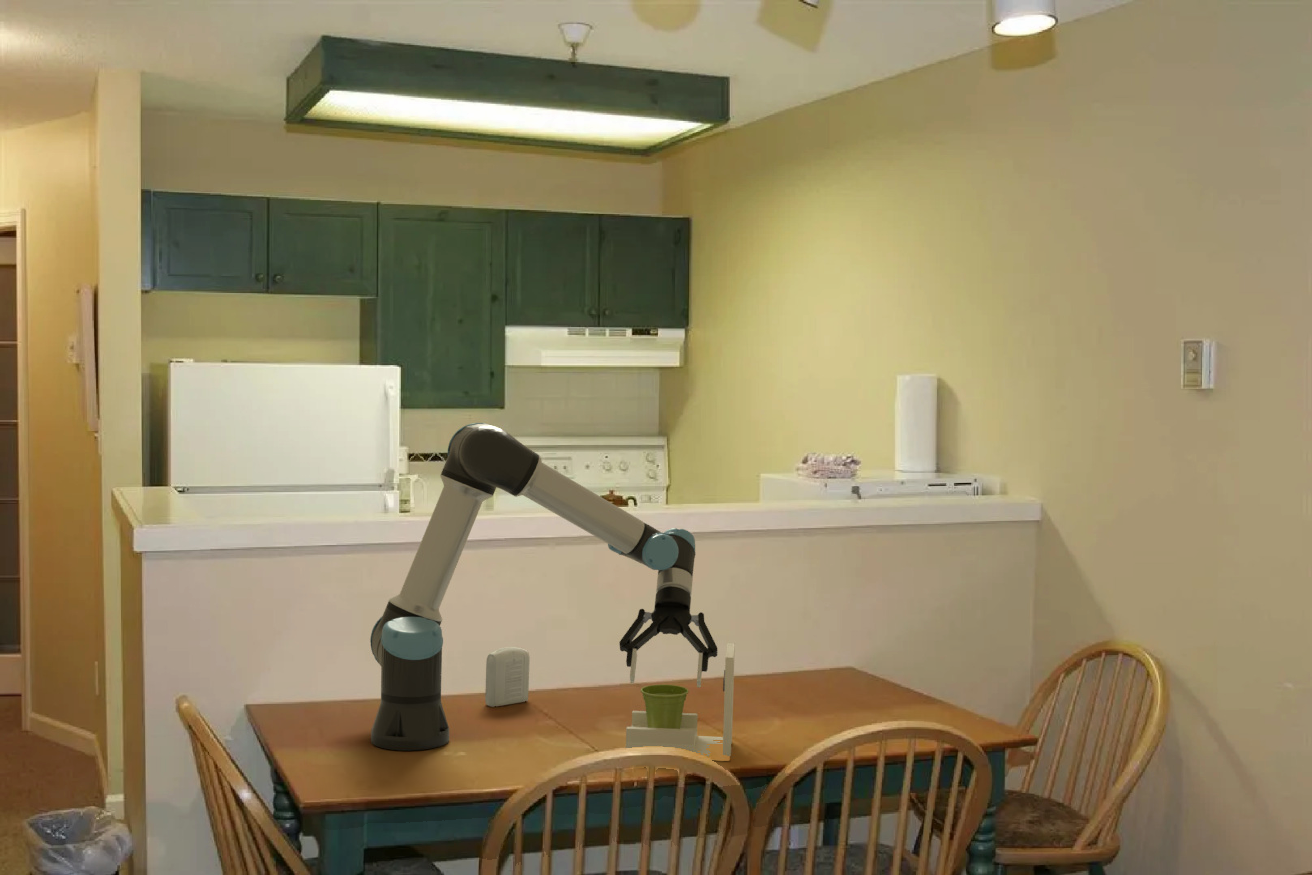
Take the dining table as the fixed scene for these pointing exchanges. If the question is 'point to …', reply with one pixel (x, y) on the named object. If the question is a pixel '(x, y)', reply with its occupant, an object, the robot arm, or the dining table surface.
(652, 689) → the plant pot
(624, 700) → the dining table surface
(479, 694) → the dining table surface
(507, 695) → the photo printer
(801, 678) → the dining table surface
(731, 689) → the bracket shelf
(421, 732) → the robot arm
